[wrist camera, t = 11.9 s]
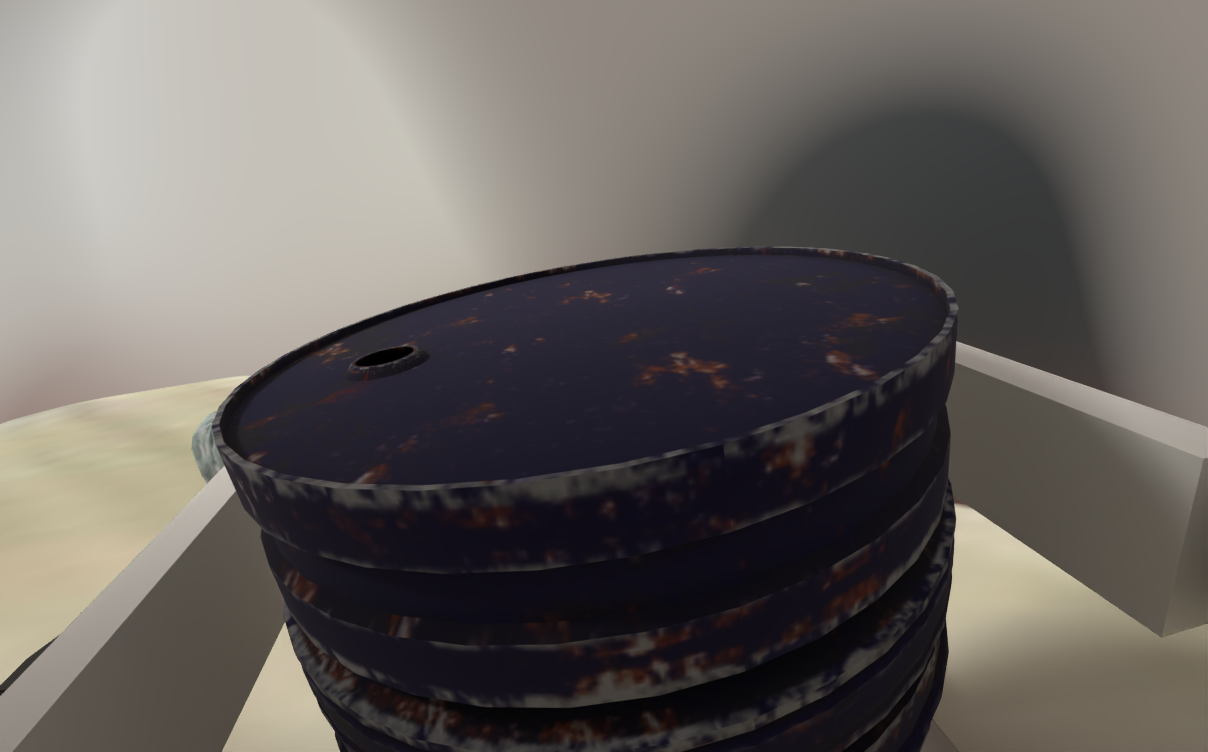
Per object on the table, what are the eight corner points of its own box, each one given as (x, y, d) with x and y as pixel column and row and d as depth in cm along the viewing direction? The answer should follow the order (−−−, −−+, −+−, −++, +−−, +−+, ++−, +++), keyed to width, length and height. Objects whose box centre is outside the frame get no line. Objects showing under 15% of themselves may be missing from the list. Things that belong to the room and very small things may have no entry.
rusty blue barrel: (767, 680, 19) (732, 231, 14) (1054, 1122, 10) (1258, 304, 5) (472, 789, 17) (307, 317, 12) (497, 1453, 8) (-121, 688, 3)
